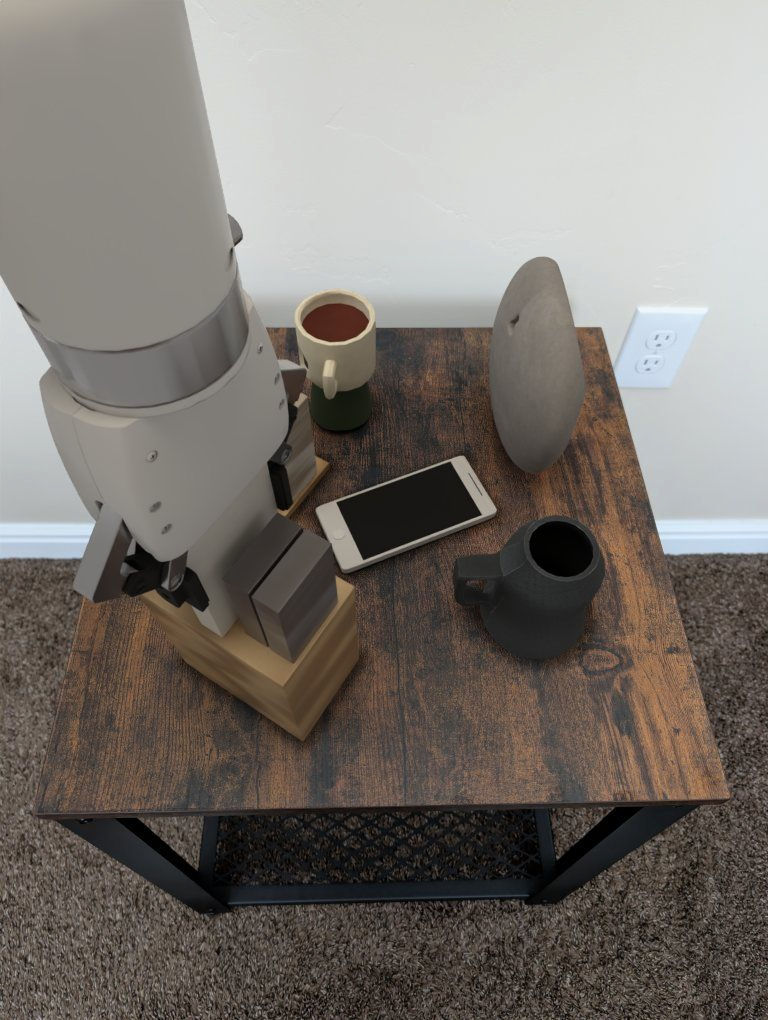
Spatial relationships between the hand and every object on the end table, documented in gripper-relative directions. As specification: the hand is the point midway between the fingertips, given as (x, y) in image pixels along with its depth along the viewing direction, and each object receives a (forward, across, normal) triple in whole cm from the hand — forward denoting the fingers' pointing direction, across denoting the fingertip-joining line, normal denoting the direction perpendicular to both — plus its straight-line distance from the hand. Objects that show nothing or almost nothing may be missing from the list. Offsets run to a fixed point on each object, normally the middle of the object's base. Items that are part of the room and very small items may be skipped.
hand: (229, 543), depth 41 cm
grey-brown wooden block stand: (+20, -14, -14) cm, 29 cm away
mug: (+20, -15, +15) cm, 29 cm away
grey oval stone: (+20, -32, +6) cm, 39 cm away
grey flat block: (+6, 0, 0) cm, 6 cm away
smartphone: (+20, -18, +2) cm, 27 cm away
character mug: (+20, -25, -10) cm, 34 cm away
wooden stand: (+20, 0, 0) cm, 20 cm away
